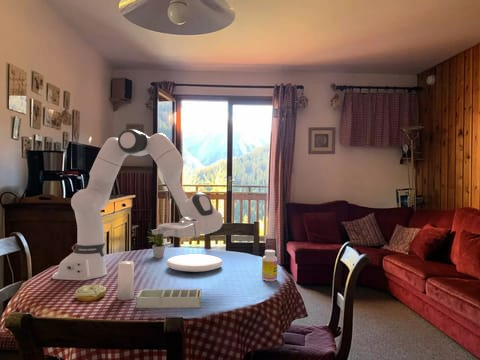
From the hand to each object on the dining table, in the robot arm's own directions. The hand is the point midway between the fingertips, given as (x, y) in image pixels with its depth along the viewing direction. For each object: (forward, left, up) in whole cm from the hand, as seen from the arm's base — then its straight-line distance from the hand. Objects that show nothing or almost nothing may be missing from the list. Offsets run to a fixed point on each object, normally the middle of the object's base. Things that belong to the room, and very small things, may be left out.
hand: (157, 233), depth 144 cm
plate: (+13, +35, -23) cm, 44 cm away
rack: (+7, -14, -23) cm, 27 cm away
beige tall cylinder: (-10, -8, -23) cm, 26 cm away
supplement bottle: (+47, +15, -23) cm, 54 cm away
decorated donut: (-23, -7, -23) cm, 33 cm away
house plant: (-9, +61, -23) cm, 66 cm away
